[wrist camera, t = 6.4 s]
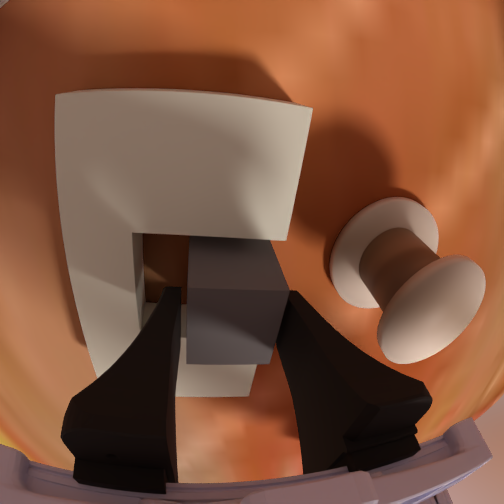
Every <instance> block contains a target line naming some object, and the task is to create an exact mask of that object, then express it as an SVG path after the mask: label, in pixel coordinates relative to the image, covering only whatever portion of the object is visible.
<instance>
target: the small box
mask: <svg viewBox="0 0 504 504" xmlns="http://www.w3.org/2000/svg"><path fill="white" fill-rule="evenodd" d="M8 1H9V0H0V8H1V7H2V6H3V5H4V4H5V3H7V2H8Z"/></svg>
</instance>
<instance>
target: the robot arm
mask: <svg viewBox="0 0 504 504" xmlns="http://www.w3.org/2000/svg"><path fill="white" fill-rule="evenodd" d="M276 345H277V349H278V353H279V356H280V359H281V362H282V366H283V369H284V372H285V375H286V378H287V381H288V384H289V388H290V391H291V395H292V399H293V404H294V409H295V414H296V420H297V426H298V432H299V439H300V447H301V455H302V465H303V475H298V476H291V477H284V478H277V479H268V480H258V481H247V482H232V483H178V471H177V453H176V424H175V395H176V383H177V374H178V365H179V356H180V348H181V287H165V288H164V289H163V291H162V294H161V296H160V299H159V301H158V303H157V305H156V307H155V308H154V310H153V312H152V314H151V315H150V317H149V319H148V320H147V322H146V324H145V325H144V327H143V328H142V329H141V331H140V332H139V334H138V335H137V337H136V338H135V339H134V341H133V342H132V343H131V345H130V346H129V347H128V348H127V349H126V351H125V352H124V353H123V354H122V355H121V356H120V357H119V358H118V359H117V361H116V362H115V363H114V364H113V365H112V366H111V367H110V368H109V369H108V370H106V371H105V372H104V373H103V374H102V375H101V376H100V377H99V378H97V379H96V380H95V381H94V382H93V383H91V384H90V385H89V386H88V387H86V388H85V389H83V390H82V391H81V392H79V393H78V394H77V395H75V396H74V397H72V399H71V401H70V403H69V405H68V408H67V411H66V413H65V416H64V420H63V425H62V431H61V439H62V441H63V442H64V444H65V445H66V446H67V448H68V449H69V450H70V451H71V453H72V454H73V455H74V456H75V464H74V471H70V470H65V469H61V468H57V467H53V466H49V465H45V464H41V463H37V462H34V461H30V460H29V459H28V458H27V457H26V456H25V455H24V454H23V453H22V452H20V451H18V450H16V449H14V448H11V447H8V446H5V445H2V444H0V504H453V503H452V500H451V498H450V496H449V493H448V491H447V488H449V487H451V486H453V485H455V484H457V483H458V482H460V481H461V480H463V479H464V478H466V477H467V476H469V475H470V474H472V473H473V472H474V471H476V470H477V469H479V468H480V467H481V466H483V465H484V464H485V463H486V462H488V461H489V460H491V459H492V457H493V456H492V454H491V452H490V450H489V448H488V446H487V444H486V443H485V441H484V439H483V437H482V435H481V433H480V431H479V430H478V428H477V426H476V425H475V423H474V421H473V419H472V417H469V418H467V419H465V420H463V421H460V422H458V423H456V424H454V425H453V426H451V427H450V428H449V429H448V430H447V431H446V432H445V433H444V434H443V435H441V436H439V437H436V438H434V439H431V440H429V441H426V442H423V443H421V444H419V443H418V441H417V439H416V437H415V435H414V434H416V433H417V431H418V430H417V428H416V426H415V424H416V423H417V422H418V421H419V420H420V419H421V418H422V416H423V415H424V414H425V413H426V412H427V411H428V410H429V408H430V406H431V404H432V397H431V395H430V394H429V392H428V390H427V388H426V387H425V385H424V383H423V382H422V381H419V380H417V379H414V378H411V377H409V376H406V375H404V374H402V373H400V372H398V371H395V370H393V369H391V368H389V367H388V366H386V365H384V364H382V363H380V362H379V361H377V360H375V359H374V358H372V357H370V356H369V355H367V354H366V353H364V352H363V351H361V350H360V349H359V348H357V347H356V346H355V345H353V344H352V343H351V342H349V341H348V340H347V339H346V338H344V337H343V336H342V335H341V334H340V333H339V332H338V331H336V330H335V329H334V328H333V327H332V326H331V325H330V324H329V323H328V322H327V321H326V320H325V319H324V318H323V317H322V316H321V315H320V314H319V313H318V312H317V311H316V310H315V309H314V308H313V307H312V306H311V305H310V304H309V303H308V302H307V301H306V300H305V299H304V298H303V297H302V295H301V294H300V293H299V292H298V291H293V290H290V292H289V296H288V299H287V303H286V307H285V310H284V314H283V318H282V321H281V325H280V328H279V332H278V336H277V339H276Z"/></svg>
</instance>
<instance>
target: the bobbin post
mask: <svg viewBox="0 0 504 504" xmlns="http://www.w3.org/2000/svg"><path fill="white" fill-rule="evenodd" d="M437 248H438V228H437V224H436V222H435V219H434V218H433V216H432V214H431V213H430V212H429V211H428V210H427V209H426V208H424V207H423V206H422V205H420V204H419V203H418V202H416V201H414V200H412V199H409V198H405V197H390V198H385V199H381V200H379V201H376V202H374V203H372V204H370V205H368V206H367V207H365V208H363V209H362V210H361V211H359V212H358V213H357V214H356V215H355V216H354V217H353V218H352V219H351V220H350V221H349V222H348V223H347V224H346V225H345V227H344V228H343V229H342V231H341V232H340V234H339V235H338V237H337V239H336V241H335V243H334V246H333V249H332V252H331V256H330V264H329V269H330V276H331V280H332V283H333V285H334V287H335V288H336V290H337V292H338V293H339V295H340V296H341V297H342V298H343V300H345V301H346V302H347V303H349V304H351V305H353V306H356V307H360V308H377V307H380V308H381V309H382V311H383V314H382V316H381V319H380V321H379V325H378V329H377V340H378V344H379V346H380V347H381V349H382V351H383V353H384V355H385V356H386V357H387V359H388V360H390V361H392V362H394V363H399V364H408V363H414V362H417V361H420V360H423V359H426V358H428V357H430V356H432V355H434V354H436V353H437V352H439V351H440V350H442V349H443V348H445V347H446V346H447V345H449V344H450V343H451V342H452V341H453V340H455V339H456V338H457V337H458V336H459V335H460V334H461V333H462V332H463V330H464V329H465V328H466V327H467V326H468V324H469V323H470V322H471V320H472V319H473V317H474V316H475V314H476V312H477V311H478V309H479V307H480V304H481V302H482V299H483V296H484V292H485V285H486V282H485V275H484V273H483V271H482V269H481V268H480V267H479V266H478V265H477V264H476V263H475V262H474V261H473V260H472V259H470V258H469V257H467V256H464V255H450V256H446V257H443V258H440V257H439V256H438V255H437V254H436V252H437Z"/></svg>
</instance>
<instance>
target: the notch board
mask: <svg viewBox="0 0 504 504" xmlns="http://www.w3.org/2000/svg"><path fill="white" fill-rule="evenodd" d="M312 111H313V108H310V107H307V106H304V105H301V104H297V103H294V102H289V101H283V100H277V99H270V98H263V97H256V96H249V95H241V94H232V93H222V92H211V91H199V90H183V89H158V88H115V89H90V90H78V91H72V92H66V93H61V94H55V163H56V180H57V192H58V203H59V212H60V220H61V228H62V235H63V241H64V248H65V254H66V259H67V265H68V270H69V275H70V280H71V285H72V290H73V294H74V299H75V303H76V307H77V311H78V315H79V319H80V323H81V326H82V330H83V334H84V337H85V341H86V344H87V348H88V351H89V354H90V357H91V360H92V364H93V367H94V370H95V373H96V376H97V378H99V377H100V376H101V375H102V374H103V373H104V372H105V371H106V370H108V369H109V368H110V367H111V366H112V365H113V364H114V363H115V362H116V361H117V359H118V358H119V357H120V356H121V355H122V354H123V353H124V352H125V351H126V349H127V348H128V347H129V346H130V345H131V343H132V342H133V341H134V339H135V338H136V337H137V335H138V334H139V332H140V331H141V329H142V328H143V327H144V325H145V324H146V322H147V320H148V319H149V317H150V315H151V314H152V312H153V310H154V308H155V307H156V305H157V303H149V302H146V299H145V284H144V265H143V236H142V233H152V234H173V235H192V236H211V237H229V238H247V239H264V240H281V241H286V238H287V234H288V229H289V225H290V220H291V215H292V211H293V206H294V201H295V196H296V192H297V187H298V182H299V177H300V172H301V167H302V162H303V157H304V152H305V147H306V142H307V137H308V132H309V127H310V121H311V116H312ZM186 320H187V304H181V348H180V356H179V365H178V374H177V383H176V395H175V396H178V397H244V396H249V393H250V390H251V386H252V382H253V378H254V374H255V370H256V366H257V364H251V365H199V364H186Z"/></svg>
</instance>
